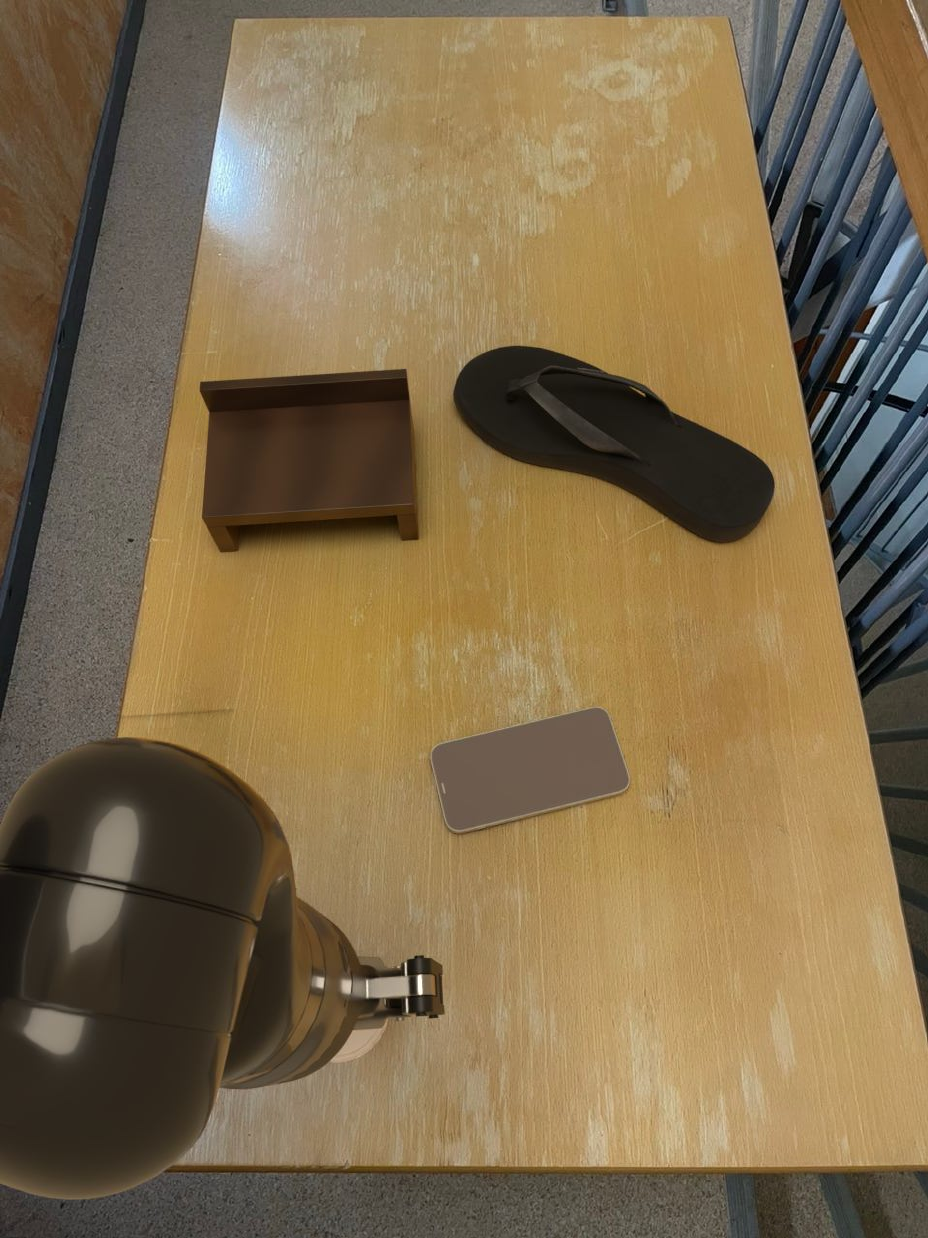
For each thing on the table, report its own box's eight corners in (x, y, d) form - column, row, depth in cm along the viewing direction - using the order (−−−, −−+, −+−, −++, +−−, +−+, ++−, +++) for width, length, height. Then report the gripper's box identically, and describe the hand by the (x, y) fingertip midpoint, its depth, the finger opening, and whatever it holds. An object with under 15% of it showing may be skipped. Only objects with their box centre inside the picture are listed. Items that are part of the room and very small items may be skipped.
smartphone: (634, 789, 72) (448, 835, 71) (632, 792, 73) (448, 838, 72) (605, 703, 75) (427, 745, 74) (604, 706, 76) (427, 748, 75)
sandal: (747, 557, 82) (768, 517, 75) (432, 439, 88) (428, 394, 82) (788, 449, 86) (811, 404, 80) (487, 344, 92) (487, 295, 86)
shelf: (220, 552, 83) (190, 498, 75) (226, 442, 88) (199, 381, 80) (418, 539, 83) (411, 484, 75) (413, 431, 88) (406, 368, 80)
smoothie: (296, 1005, 67) (251, 996, 54) (365, 946, 69) (338, 923, 56) (348, 1081, 65) (315, 1090, 52) (419, 1017, 66) (403, 1011, 54)
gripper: (79, 1099, 37) (197, 1083, 51) (434, 1075, 37) (451, 1066, 51) (99, 905, 40) (205, 942, 55) (426, 883, 40) (444, 926, 55)
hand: (324, 1002), depth 53 cm, fingers open, 8 cm apart
